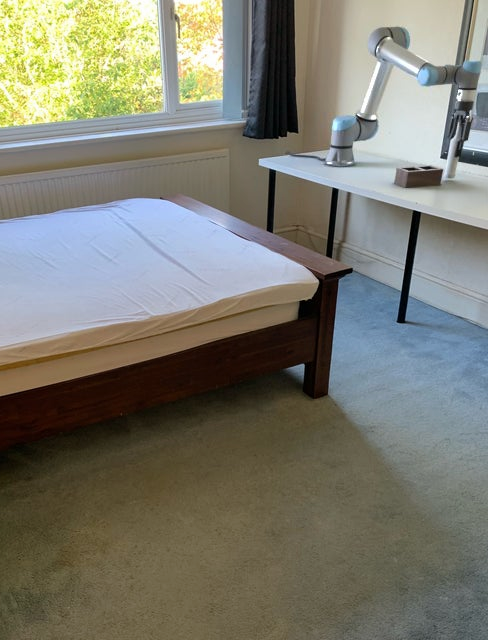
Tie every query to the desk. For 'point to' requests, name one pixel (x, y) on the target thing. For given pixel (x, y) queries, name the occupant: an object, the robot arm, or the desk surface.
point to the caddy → (418, 176)
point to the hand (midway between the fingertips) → (453, 155)
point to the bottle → (452, 156)
